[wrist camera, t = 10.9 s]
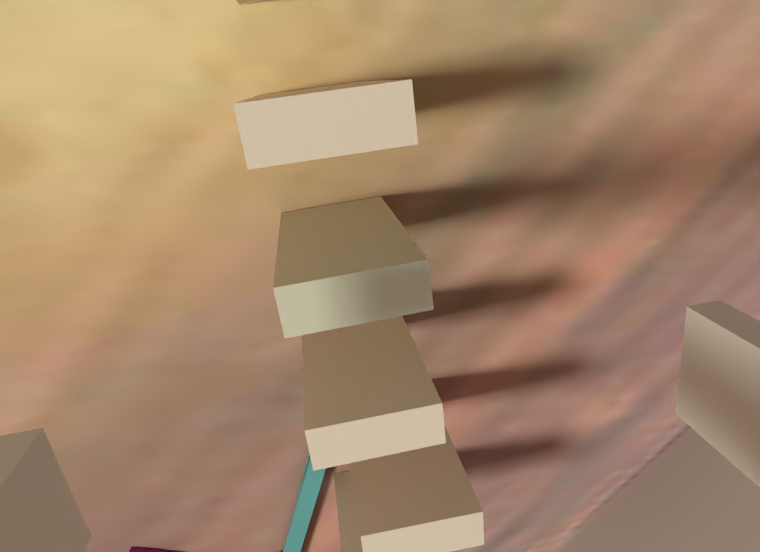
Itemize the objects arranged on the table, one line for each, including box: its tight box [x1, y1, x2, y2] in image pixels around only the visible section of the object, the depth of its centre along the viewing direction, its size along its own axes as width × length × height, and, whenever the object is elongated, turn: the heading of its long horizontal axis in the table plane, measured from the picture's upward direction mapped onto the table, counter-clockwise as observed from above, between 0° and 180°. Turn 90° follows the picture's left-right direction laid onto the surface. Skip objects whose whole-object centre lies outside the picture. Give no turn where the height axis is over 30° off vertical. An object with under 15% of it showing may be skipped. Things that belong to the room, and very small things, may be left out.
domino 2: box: [273, 196, 434, 338], centre depth 21 cm, size 2×5×10 cm, turn 98°
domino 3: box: [302, 316, 446, 471], centre depth 23 cm, size 2×5×10 cm, turn 97°
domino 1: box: [234, 79, 418, 170], centre depth 19 cm, size 2×5×10 cm, turn 97°
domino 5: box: [334, 470, 363, 552], centre depth 27 cm, size 2×5×10 cm, turn 97°
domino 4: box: [350, 425, 484, 552], centre depth 25 cm, size 2×5×10 cm, turn 96°
